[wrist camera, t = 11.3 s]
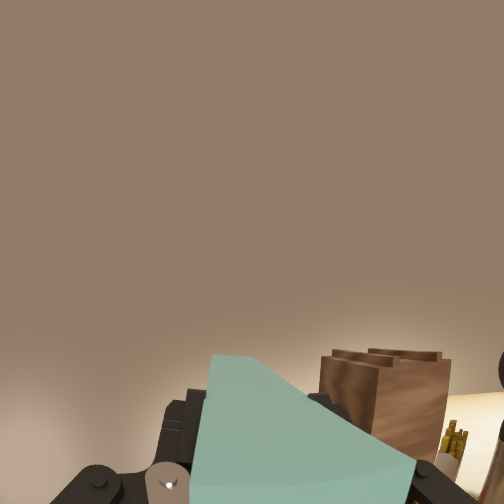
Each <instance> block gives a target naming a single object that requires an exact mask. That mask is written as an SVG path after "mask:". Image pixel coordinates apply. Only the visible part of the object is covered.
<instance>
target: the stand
mask: <svg viewBox="0 0 504 504" xmlns="http://www.w3.org/2000/svg"><path fill="white" fill-rule="evenodd" d="M450 368H451V359H442V352H432V351H430V352H429V351H407V350H390V349H389V350H388V349H375V348H369V349H368V353H362V352H353V351H346V350H339V349H332V356H322V357H321V370H320V383H319V393H328V394H329V396H330V398H331V400H332V403H333V404H340V405H341V406H342V407H343V408H344V409H345V410H347V411H348V413H349V415H350V417H351V420H352V423H353V424H354V426H356V427H357V428H359V429H361V430H362V431H364V432H366V433H367V434H369V435H371V436H373V437H374V438H376V439H378V440H380V441H381V442H383V443H385V444H387V445H389V446H390V447H392V448H394V449H396V450H398V451H400V452H401V453H403V454H405V455H407V456H409V457H411V458H413V459H415V460H420V459H421V460H426V461H429V462H431V463H432V464H433V465H434V463H435V459H436V455H437V451H438V447H439V442H440V437H441V433H442V428H443V422H444V417H445V410H446V404H447V397H448V389H449V380H450ZM415 502H416V501H415ZM416 503H417V502H416ZM417 504H418V503H417Z"/></svg>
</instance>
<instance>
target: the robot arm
mask: <svg viewBox="0 0 504 504" xmlns="http://www.w3.org/2000/svg"><path fill="white" fill-rule="evenodd" d="M498 371H499V379H500V382H501V384H502V386H503V388H504V352H503V354H502V356H501V358H500V362H499V369H498ZM206 394H207V390H198V389H188V390H187V396H186V401H181V400H173V401H172V402H171V403H170V404H169V405H168V406H167V408H166V410H165V414H164V420H163V423H162V429H161V432H160V437H159V441H158V446H157V451H156V455H155V459H154V462H153V464H152V465H151V466H150V467H149V468H148V469H146V470H144V471H142V472H138V473H128V474H116V472H115V471H113V470H112V469H111V468H109V467H107V466H104V465H90V466H87V467H85V468H84V469H83V470H81V472H80V473H79V474H78V475H77V476H76V477H75V478H74V479H73V480H72V481H71V482H70V483H69V484H68V485H67V486H66V487H65V488H64V489H63V491H62V492H61V493H60V494H59V495H58V496H57V497H56V498H55V499H54V500H53V501H52V502H51V503H50V504H190V502H189V483H190V477H191V471H192V465H193V459H194V454H195V448H196V442H197V437H198V431H199V425H200V420H201V414H202V409H203V404H204V399H206ZM307 397H309V398H310V399H312V400H313V401H316V402H318V403H319V404H321V405H322V406H324V407H325V408H327V409H328V410H330V411H331V412H333V413H335V414H336V415H338V416H339V417H341V418H343V419H344V420H346V421H347V422H349V423H351V424H352V425H354V424H353V423H352V420H351V417H350V415H349V413H348V411H347V410H345V409H344V408H343V407H342V406H341V405H340V404H333V403H332V400H331V398H330V396H329V394H328V393H310V394H308V396H307ZM415 501H416V502H417V503H418V504H504V420H503V422H502V425H501V428H500V432H499V437H498V441H497V444H496V448H495V452H494V455H493V459H492V462H491V465H490V468H489V471H488V474H487V477H486V480H485V483H484V485H483V488H482V491H481V493H480V496H479V498H478V501H476V500H475V499H474V498H472V497H471V496H470V495H469V494H468V493H466V492H465V491H464V490H463V489H461V488H460V487H459V486H458V485H457V484H455V483H454V482H453V481H452V480H451V479H450V478H448V477H447V476H446V475H445V474H444V473H442V472H441V471H440V470H439V469H438V468H437V467H436V466H434V465H433V464H432V463H431V462H429V461H426V460H421V459H420V460H417V461H416V466H415V470H414V474H413V477H412V481H411V485H410V488H409V491H408V495H407V498H406V501H405V504H417V503H416V502H415Z"/></svg>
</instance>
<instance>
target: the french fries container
mask: <svg viewBox="0 0 504 504" xmlns="http://www.w3.org/2000/svg"><path fill="white" fill-rule="evenodd" d="M456 422H457V420H450V424H449V428H447V429H446V434H445V436H443V438H442V442H441V447H440V450H439V452H438V454H437V458H436V462H435V466H436V467H437V468H438V469H439V470H440V471H441V472H442V473H444V474H445V475H446V476H447V477H448V478H450V479H451V480H452V481H453V482H454V483H455V481H456V477H457V474H458V471H459V468H460V464H461V461H462V457H463V453H464V449H465V445H466V440H467V436H468V431H464V432H463V436H462V431H463V429H460V431H459V432H455V427H456Z"/></svg>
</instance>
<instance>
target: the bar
mask: <svg viewBox="0 0 504 504" xmlns="http://www.w3.org/2000/svg"><path fill="white" fill-rule="evenodd" d="M206 390H207V394H206V399H204V404H203V409H202V414H201V420H200V425H199V431H198V437H197V442H196V448H195V454H194V459H193V465H192V471H191V477H190V483H189V502H190V504H405V501H406V498H407V495H408V491H409V488H410V485H411V481H412V477H413V474H414V470H415V466H416V461H417V460H415V459H413V458H411V457H409V456H407V455H405V454H403V453H401V452H400V451H398V450H396V449H394V448H392V447H390V446H389V445H387V444H385V443H383V442H381V441H380V440H378V439H376V438H374V437H373V436H371V435H369V434H367V433H366V432H364V431H362V430H361V429H359V428H357V427H356V426H354V425H352V424H351V423H349V422H347V421H346V420H344V419H343V418H341V417H339V416H338V415H336V414H335V413H333V412H331V411H330V410H328V409H327V408H325V407H324V406H322V405H321V404H319V403H318V402H316V401H313V400H312V399H310V398H309V397H307V395H305V394H304V393H302V392H301V391H299V390H298V389H296V388H295V387H294V386H292V385H290V384H289V383H288V382H286V381H285V380H284V379H282V378H281V377H279V376H278V375H277V374H275V373H274V372H272V371H271V370H270V369H268V368H267V367H265V366H264V365H263V364H261V363H260V362H259V361H257V360H256V359H255V358H253V357H247V356H230V355H217V354H213V356H212V361H211V366H210V372H209V377H208V383H207V387H206Z"/></svg>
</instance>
